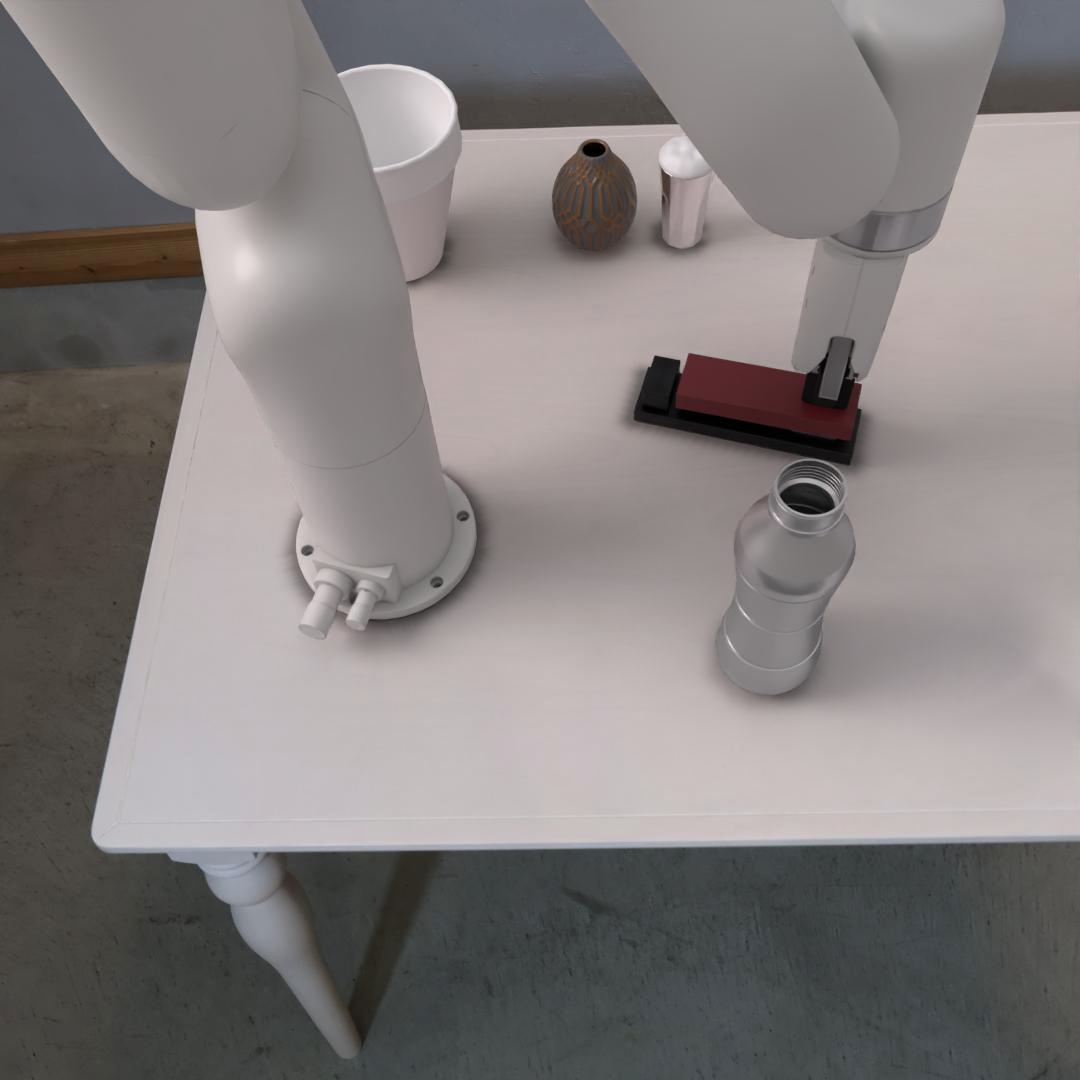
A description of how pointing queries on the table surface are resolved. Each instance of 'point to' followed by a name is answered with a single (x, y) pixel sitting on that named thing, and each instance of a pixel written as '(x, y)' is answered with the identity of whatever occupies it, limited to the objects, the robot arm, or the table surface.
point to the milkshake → (683, 191)
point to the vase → (594, 197)
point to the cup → (409, 154)
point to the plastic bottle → (786, 578)
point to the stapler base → (729, 420)
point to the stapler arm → (760, 397)
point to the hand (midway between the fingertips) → (825, 397)
